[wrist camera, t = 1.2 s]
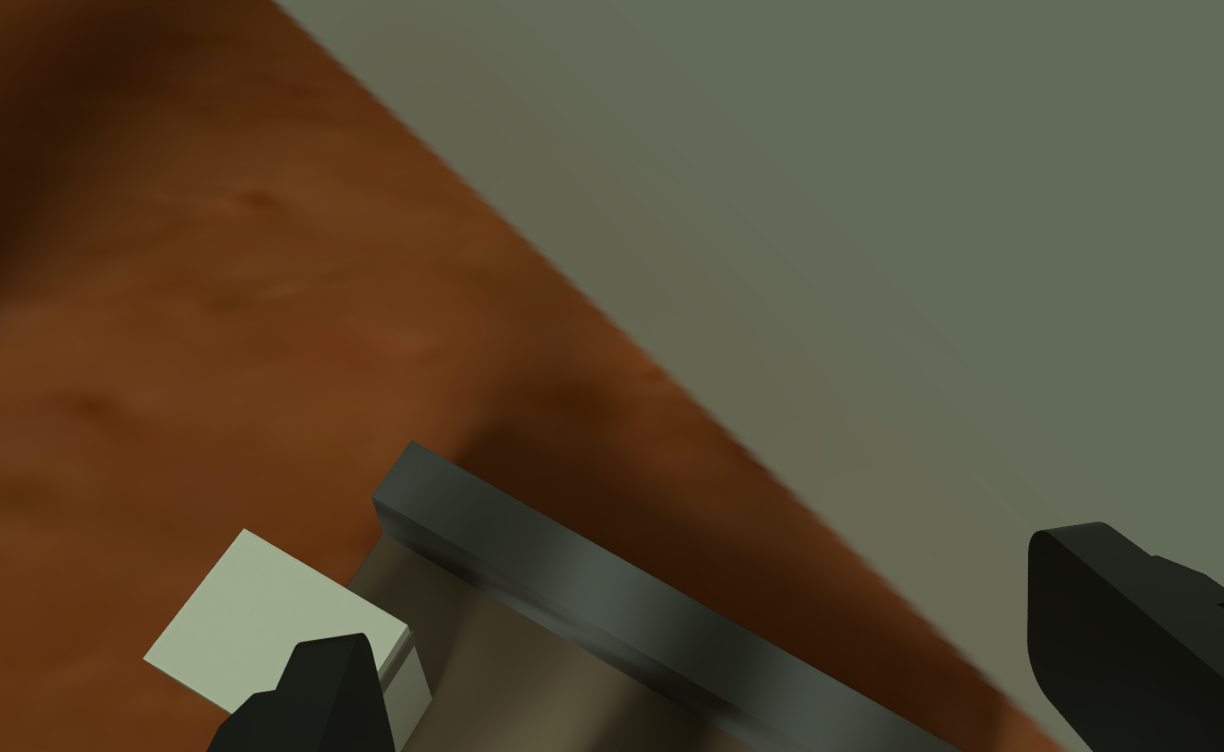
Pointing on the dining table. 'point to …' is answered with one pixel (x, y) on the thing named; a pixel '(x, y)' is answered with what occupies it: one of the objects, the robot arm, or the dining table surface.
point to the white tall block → (281, 632)
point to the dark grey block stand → (583, 640)
